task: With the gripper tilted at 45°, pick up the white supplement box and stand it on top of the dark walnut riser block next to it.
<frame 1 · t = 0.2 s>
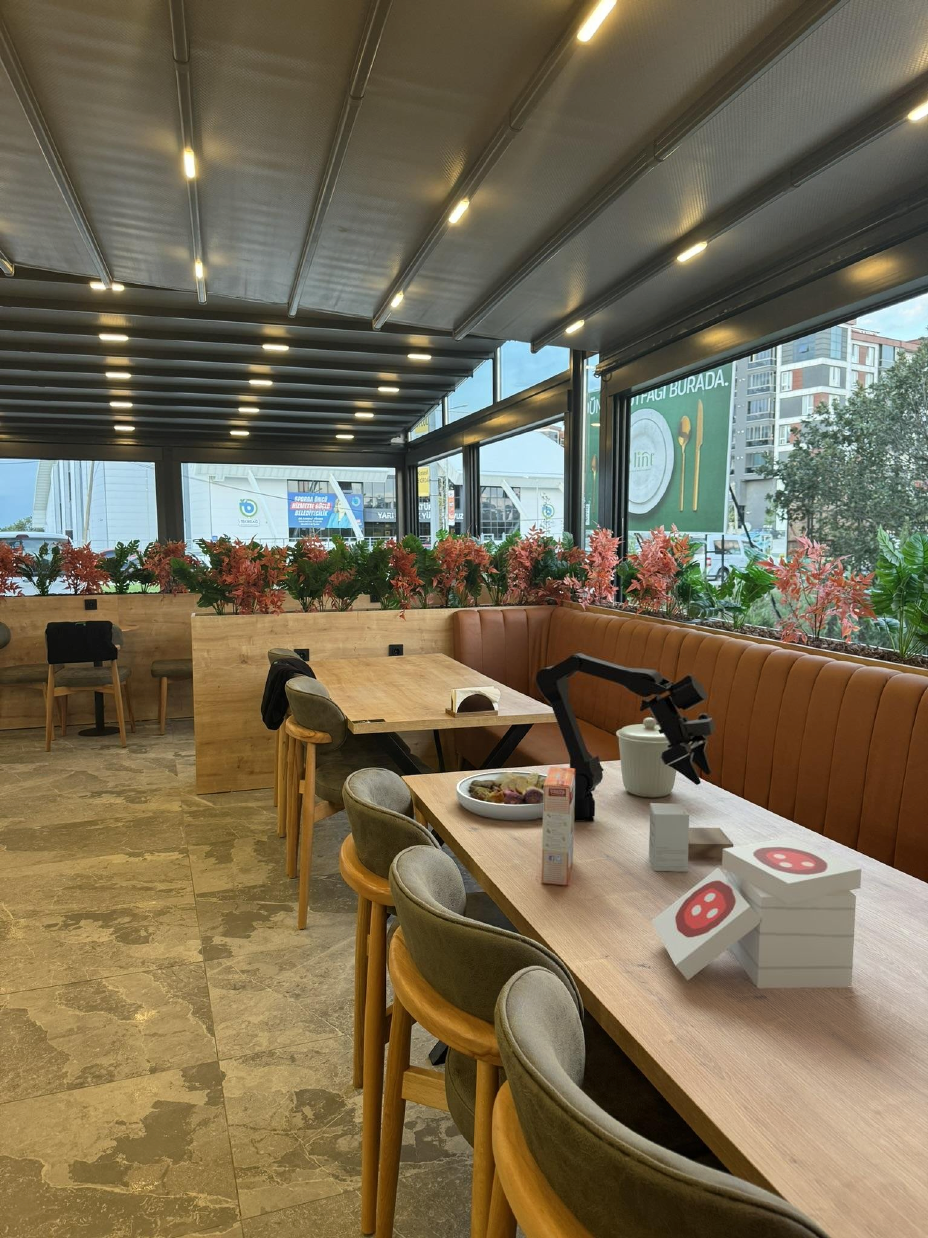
hand: (704, 779, 187), 15 cm above the table, tool tilted 35°, fingers open, 9 cm apart
walnut riser block: (703, 852, 182), on the table
pizza boxes: (752, 965, 133), on the table
bowl: (512, 806, 215), on the table
cracker box: (558, 873, 170), on the table
canister: (648, 793, 225), on the table
supplement box: (667, 866, 174), on the table
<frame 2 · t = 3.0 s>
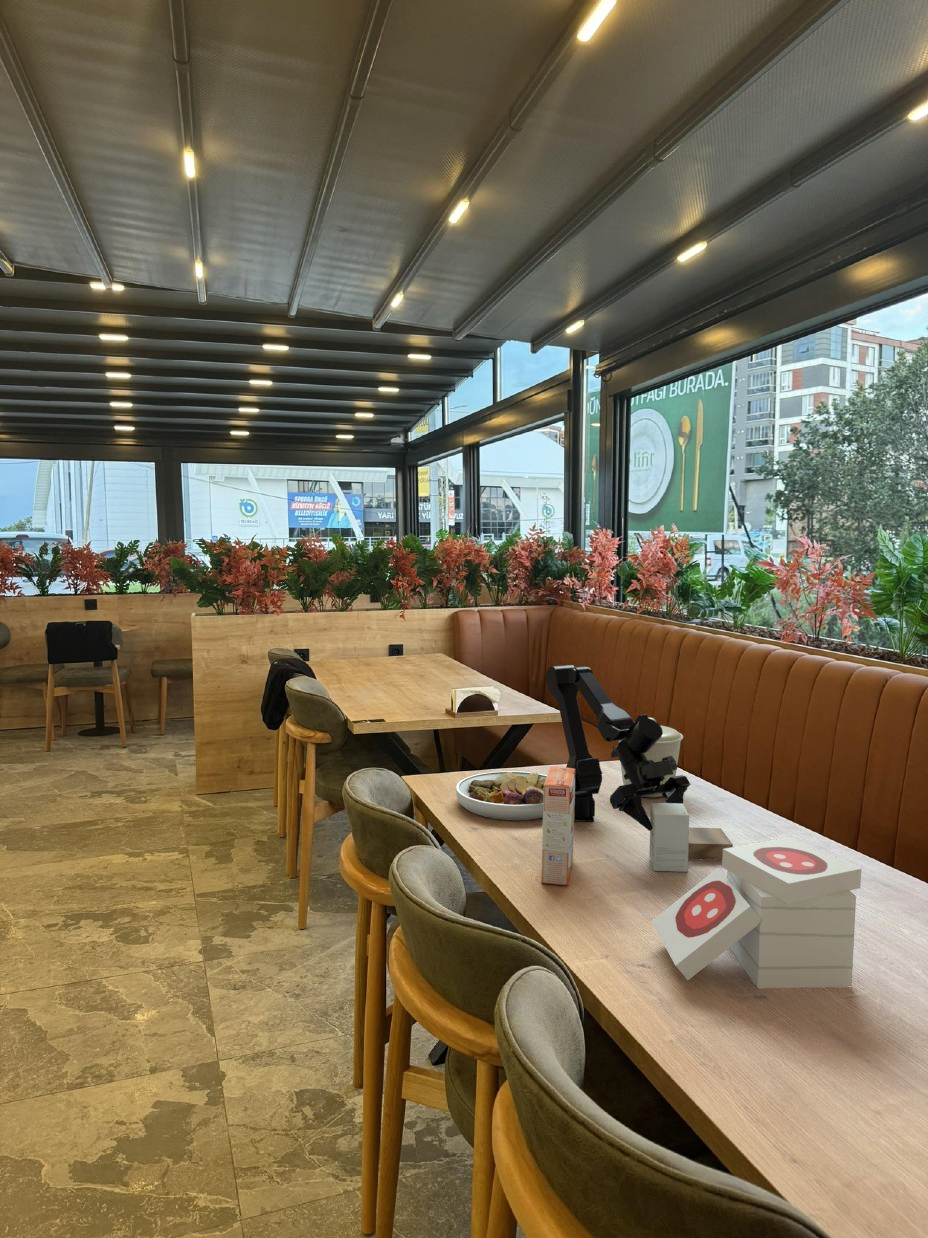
hand: (668, 826, 174), 8 cm above the table, tool tilted 45°, fingers open, 9 cm apart
supplement box: (667, 865, 174), on the table, touching gripper
everything else where it was.
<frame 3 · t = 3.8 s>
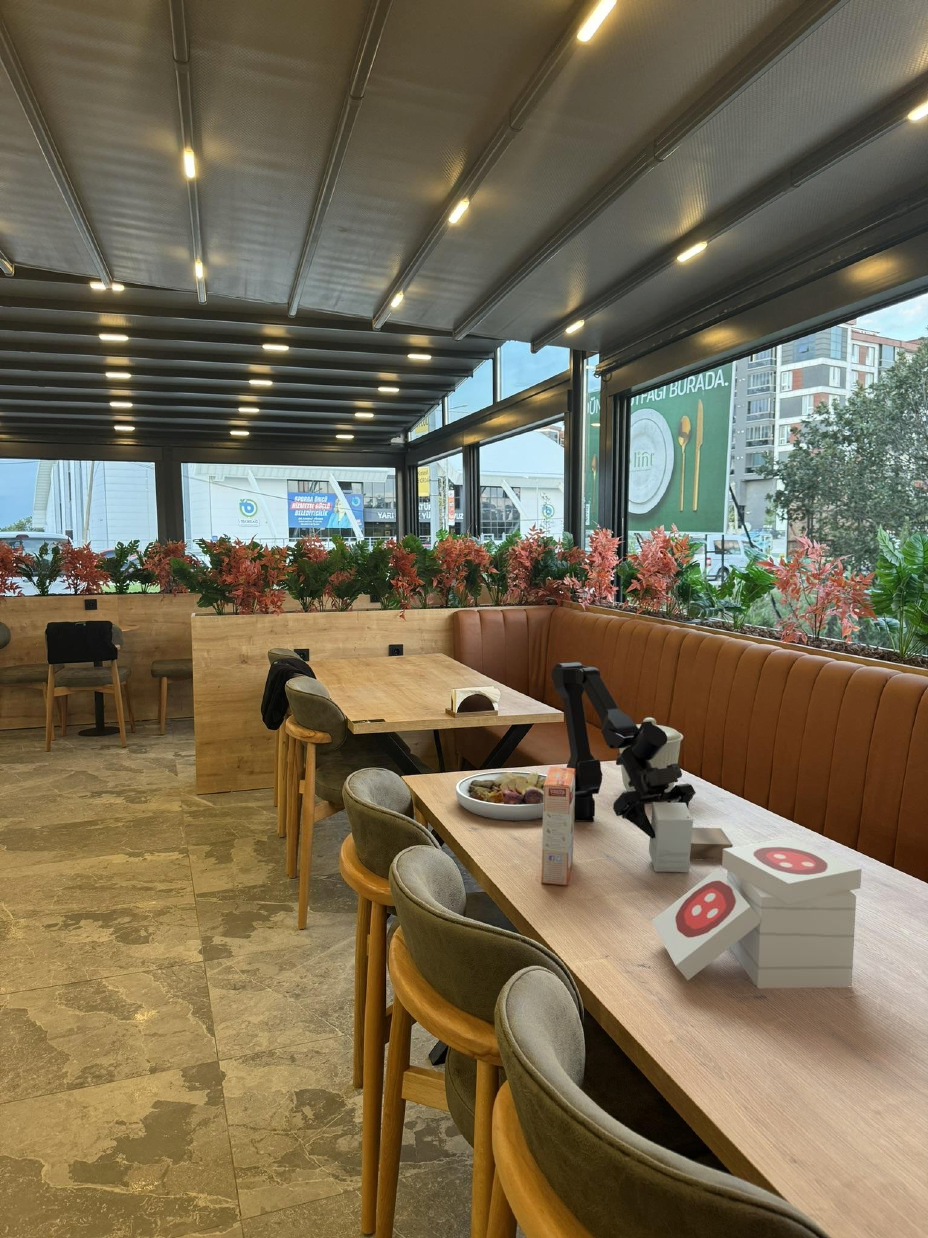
hand: (671, 834, 172), 8 cm above the table, tool tilted 45°, fingers closed on supplement box, 9 cm apart
supplement box: (667, 863, 174), point 1 cm above the table, touching gripper
everything else where it was.
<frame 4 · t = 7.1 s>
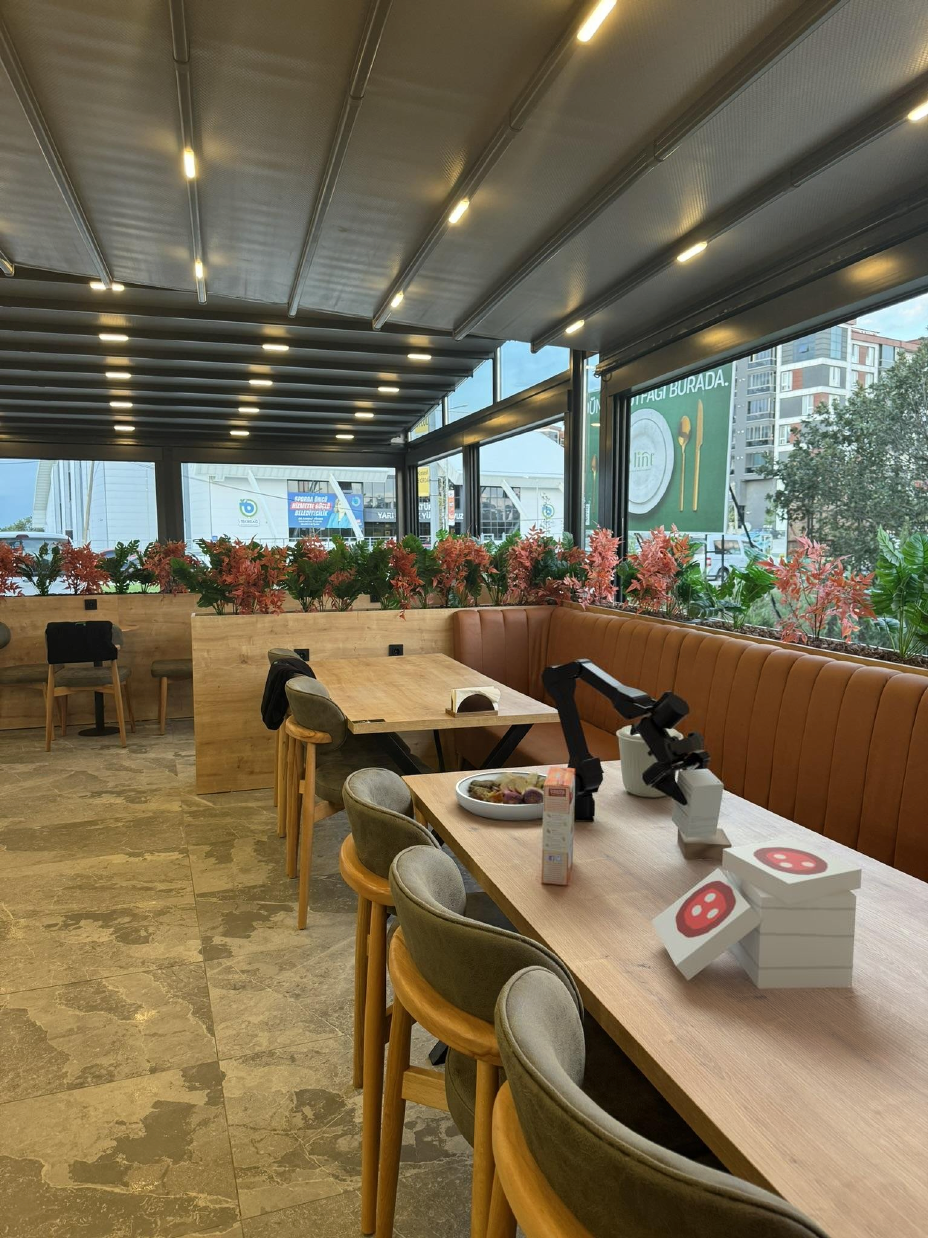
hand: (698, 800, 176), 13 cm above the table, tool tilted 45°, fingers closed on supplement box, 9 cm apart
supplement box: (693, 829, 178), point 6 cm above the table, touching gripper
everything else where it was.
when the fingers open (11 cm above the table, at t = 10.1 s): supplement box stays where it is, resting on walnut riser block.
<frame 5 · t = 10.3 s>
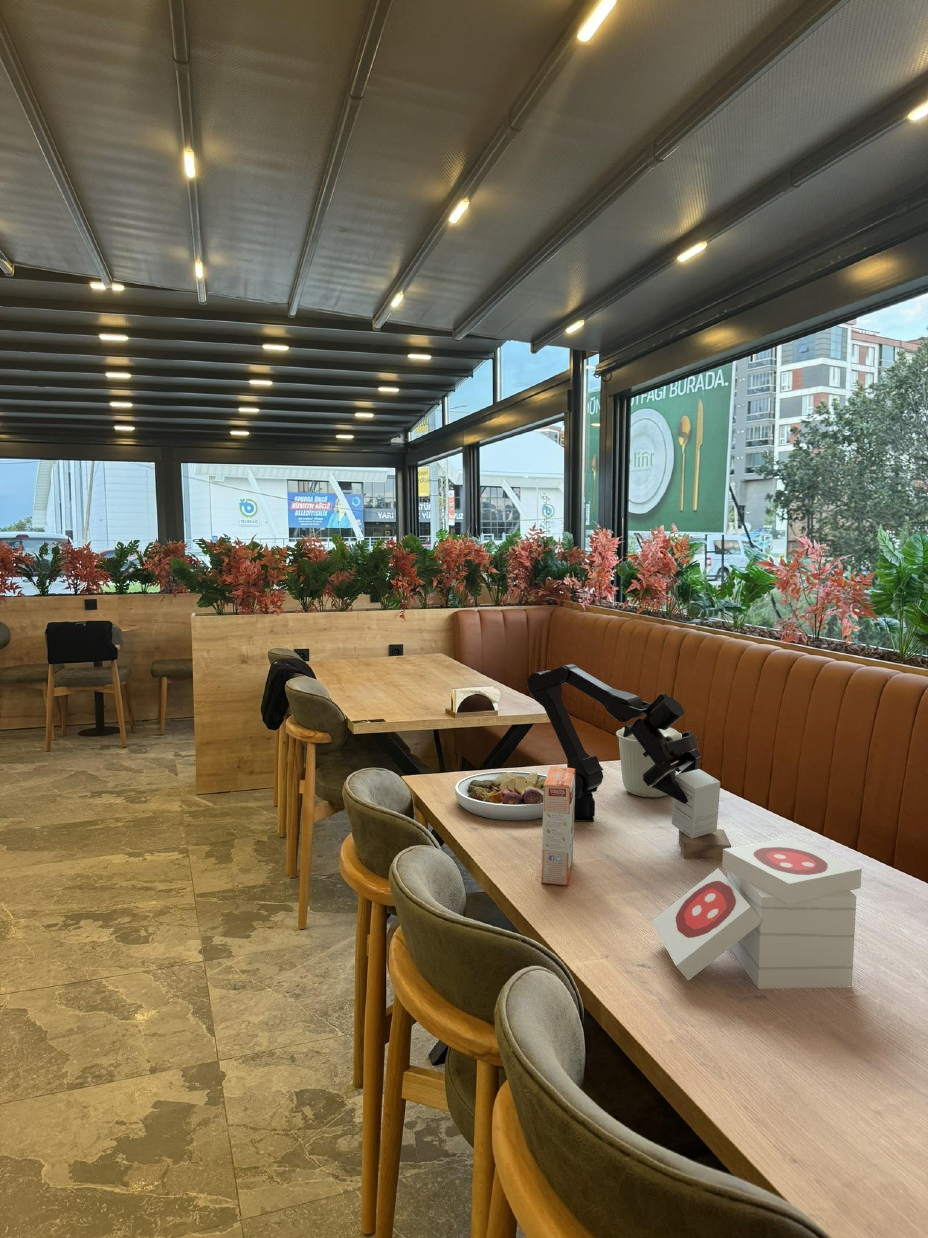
hand: (695, 797, 183), 12 cm above the table, tool tilted 45°, fingers open, 9 cm apart
walnut riser block: (703, 853, 182), on the table, touching supplement box
supplement box: (693, 829, 184), point 4 cm above the table, touching gripper, walnut riser block
everything else where it was.
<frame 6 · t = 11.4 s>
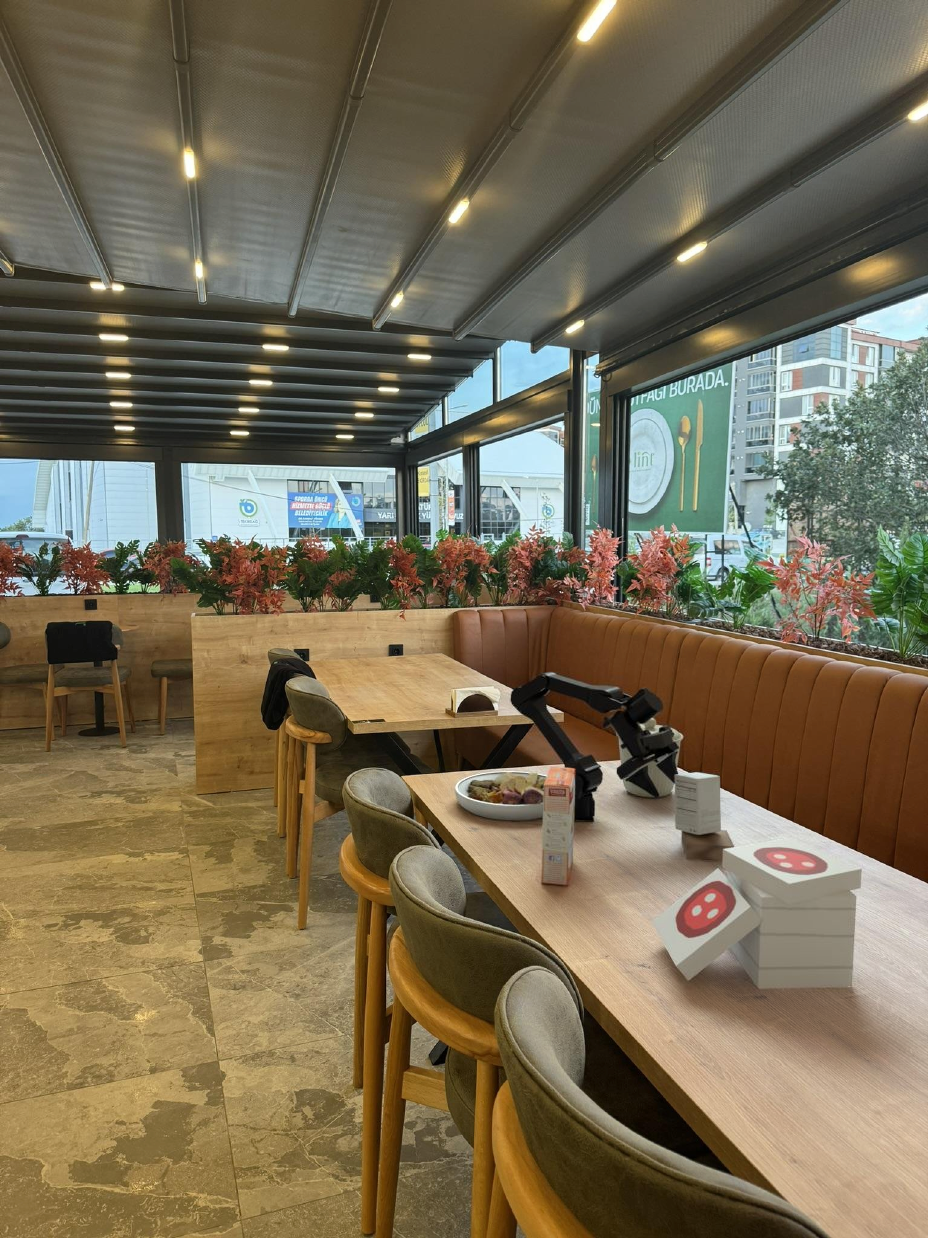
hand: (668, 791, 187), 12 cm above the table, tool tilted 40°, fingers open, 9 cm apart
supplement box: (697, 831, 184), point 4 cm above the table, touching walnut riser block
everything else where it was.
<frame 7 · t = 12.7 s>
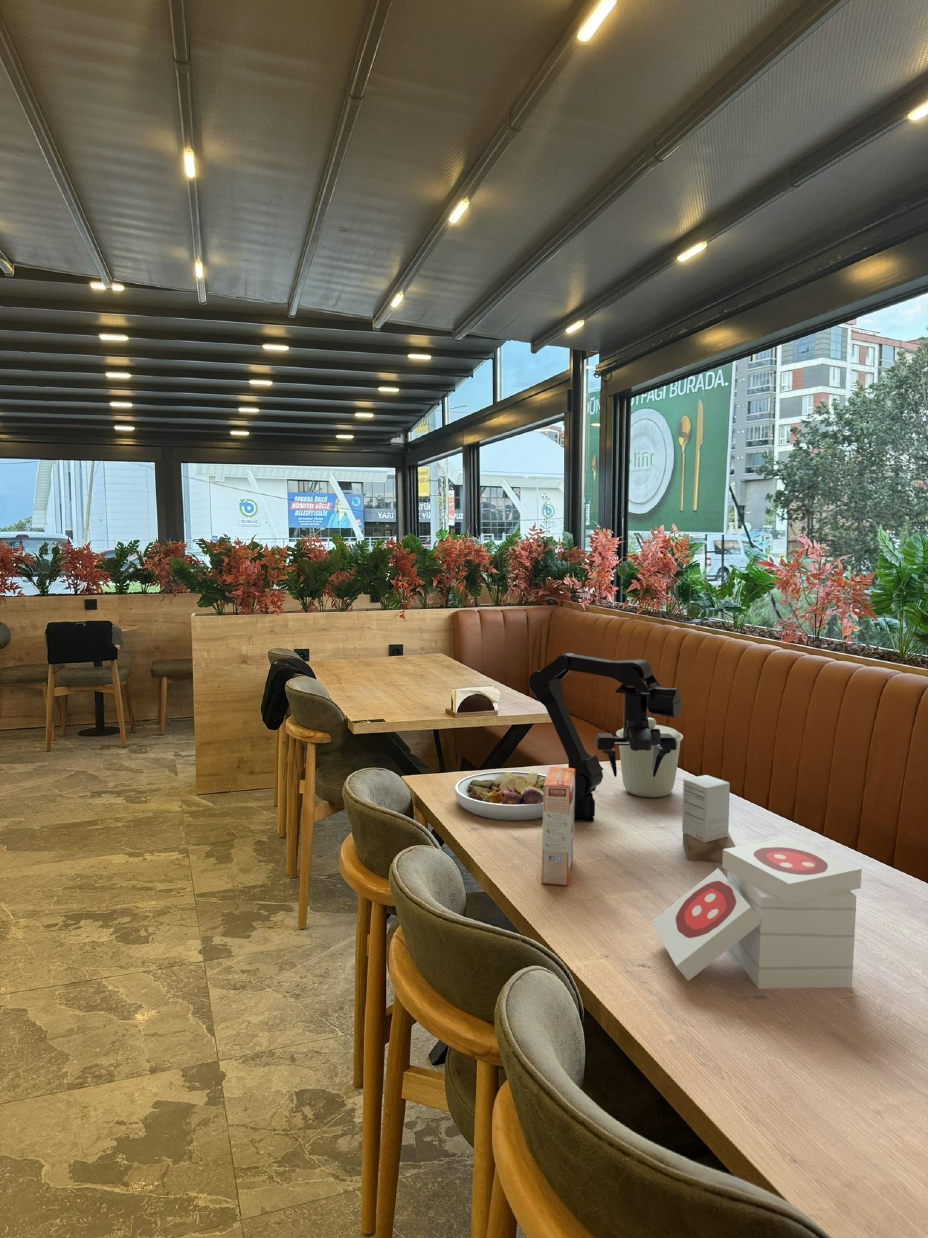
hand: (634, 776, 195), 13 cm above the table, tool pointing down, fingers open, 9 cm apart
supplement box: (704, 836, 182), point 3 cm above the table, touching walnut riser block
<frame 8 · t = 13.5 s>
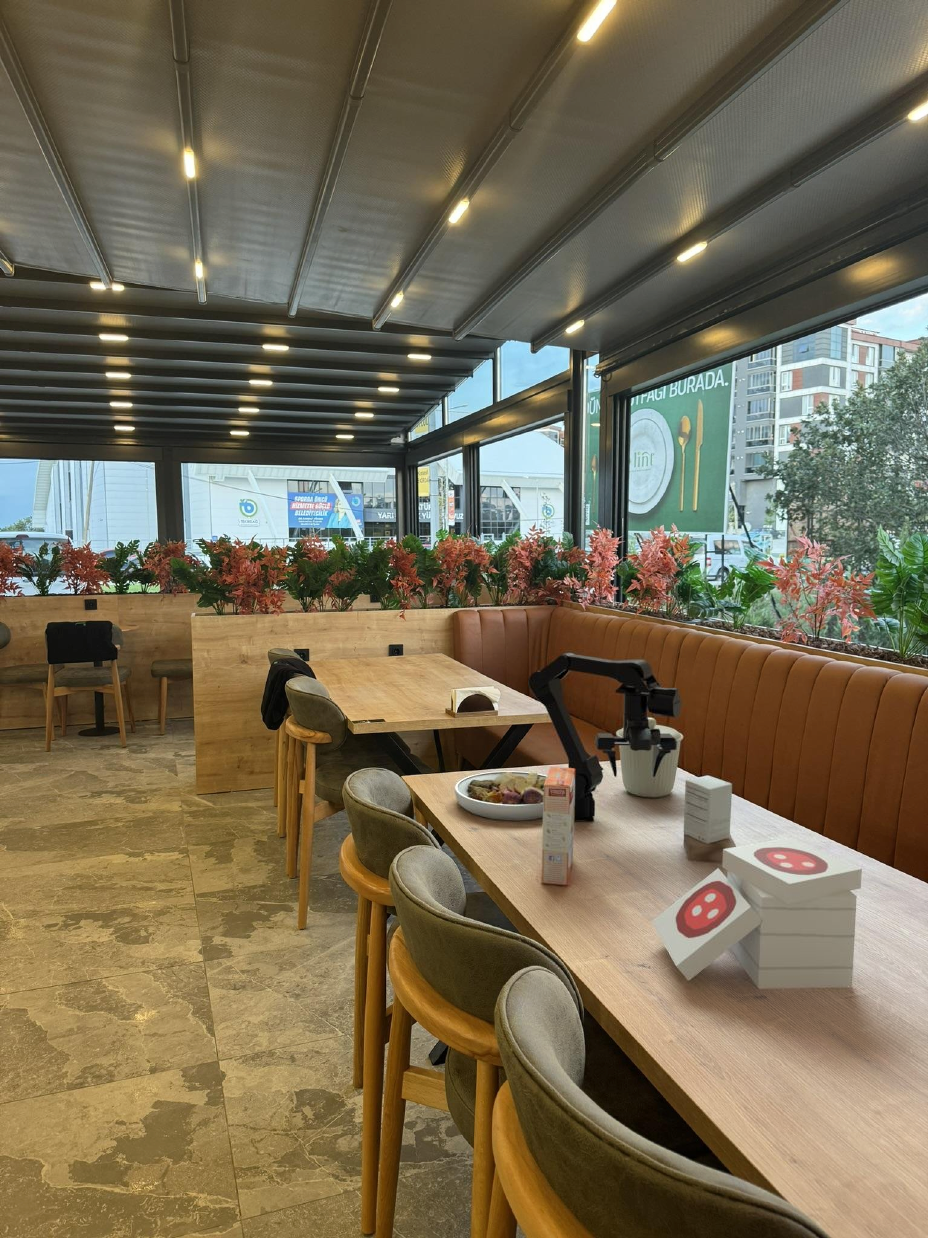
hand: (634, 776, 195), 13 cm above the table, tool pointing down, fingers open, 9 cm apart
at the end: supplement box 1.4 cm off-centre on the walnut riser block, point 4.0 cm above the walnut riser block's base; supplement box tilted 2°; the gripper is holding nothing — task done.
